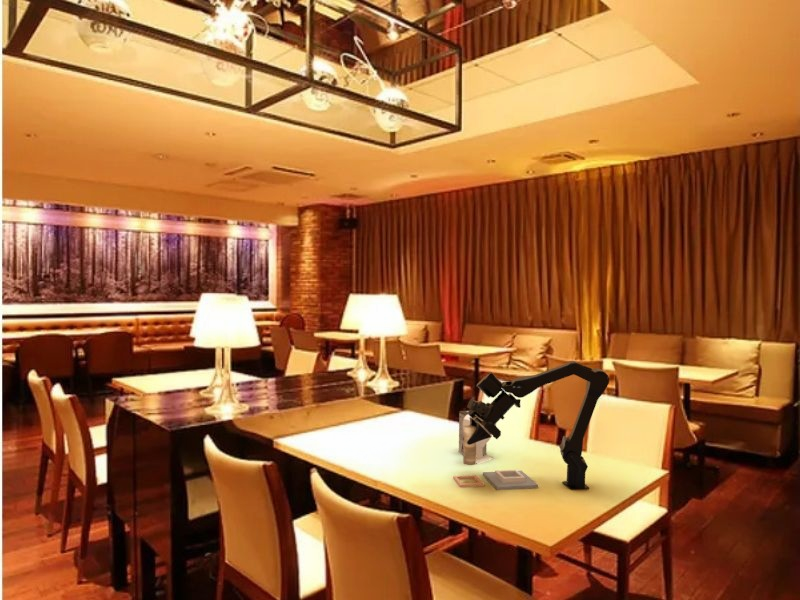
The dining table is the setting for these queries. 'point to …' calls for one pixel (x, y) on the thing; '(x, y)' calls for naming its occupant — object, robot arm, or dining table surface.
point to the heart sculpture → (478, 443)
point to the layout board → (509, 480)
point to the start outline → (468, 483)
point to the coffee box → (461, 432)
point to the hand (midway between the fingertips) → (465, 441)
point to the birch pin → (469, 446)
